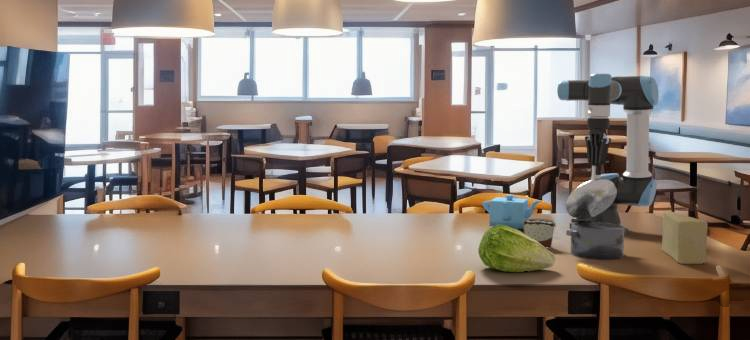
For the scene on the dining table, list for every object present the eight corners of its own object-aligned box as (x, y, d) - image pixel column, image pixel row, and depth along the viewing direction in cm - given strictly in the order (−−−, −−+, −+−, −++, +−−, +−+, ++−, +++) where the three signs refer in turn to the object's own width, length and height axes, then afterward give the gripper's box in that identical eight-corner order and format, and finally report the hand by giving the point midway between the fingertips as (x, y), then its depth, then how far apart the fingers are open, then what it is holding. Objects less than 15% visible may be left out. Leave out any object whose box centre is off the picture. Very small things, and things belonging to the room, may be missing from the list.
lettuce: (540, 278, 236) (547, 297, 221) (472, 252, 236) (474, 269, 221) (558, 239, 232) (566, 256, 217) (489, 213, 233) (492, 228, 217)
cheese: (650, 250, 259) (652, 210, 257) (676, 250, 259) (678, 210, 258) (678, 264, 237) (680, 220, 235) (706, 264, 237) (708, 220, 235)
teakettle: (478, 227, 304) (479, 193, 302) (515, 224, 311) (516, 191, 309) (503, 235, 286) (504, 199, 285) (541, 231, 294) (542, 196, 292)
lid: (559, 224, 258) (555, 217, 260) (604, 222, 263) (600, 215, 266) (578, 183, 245) (574, 176, 247) (626, 181, 250) (621, 174, 252)
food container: (556, 245, 266) (557, 219, 265) (555, 248, 261) (556, 221, 260) (523, 242, 270) (524, 217, 269) (521, 246, 265) (522, 219, 264)
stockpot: (551, 249, 259) (552, 222, 258) (606, 245, 266) (607, 219, 264) (582, 261, 240) (583, 232, 239) (640, 257, 246) (641, 229, 245)
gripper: (579, 117, 254) (576, 181, 256) (599, 118, 241) (596, 186, 244) (597, 117, 256) (594, 181, 258) (618, 118, 243) (615, 185, 246)
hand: (595, 183), depth 251 cm, fingers closed
